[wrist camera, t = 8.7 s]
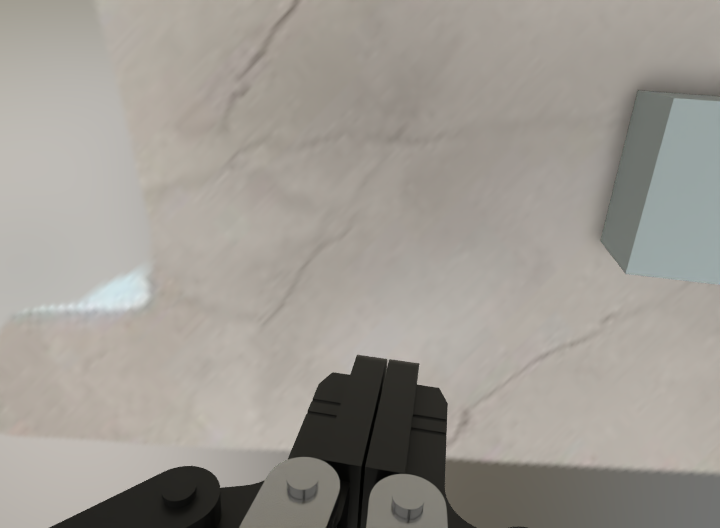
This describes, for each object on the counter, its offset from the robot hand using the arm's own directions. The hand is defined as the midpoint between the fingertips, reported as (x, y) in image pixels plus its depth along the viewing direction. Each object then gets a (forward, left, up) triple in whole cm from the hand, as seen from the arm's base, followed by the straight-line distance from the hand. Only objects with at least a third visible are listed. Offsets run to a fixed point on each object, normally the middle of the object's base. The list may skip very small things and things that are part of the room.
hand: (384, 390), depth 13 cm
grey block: (-2, +15, -19) cm, 24 cm away
